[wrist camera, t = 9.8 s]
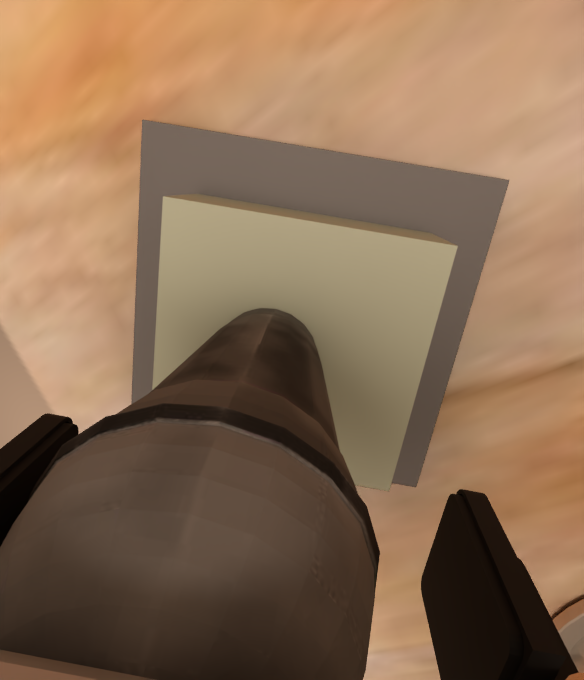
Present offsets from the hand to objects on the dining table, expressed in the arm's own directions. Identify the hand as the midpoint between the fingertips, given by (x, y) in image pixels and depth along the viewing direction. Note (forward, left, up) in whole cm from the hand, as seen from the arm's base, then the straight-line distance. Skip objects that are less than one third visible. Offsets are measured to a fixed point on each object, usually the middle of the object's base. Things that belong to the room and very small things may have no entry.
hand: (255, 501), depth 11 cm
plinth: (0, 0, -16) cm, 16 cm away
